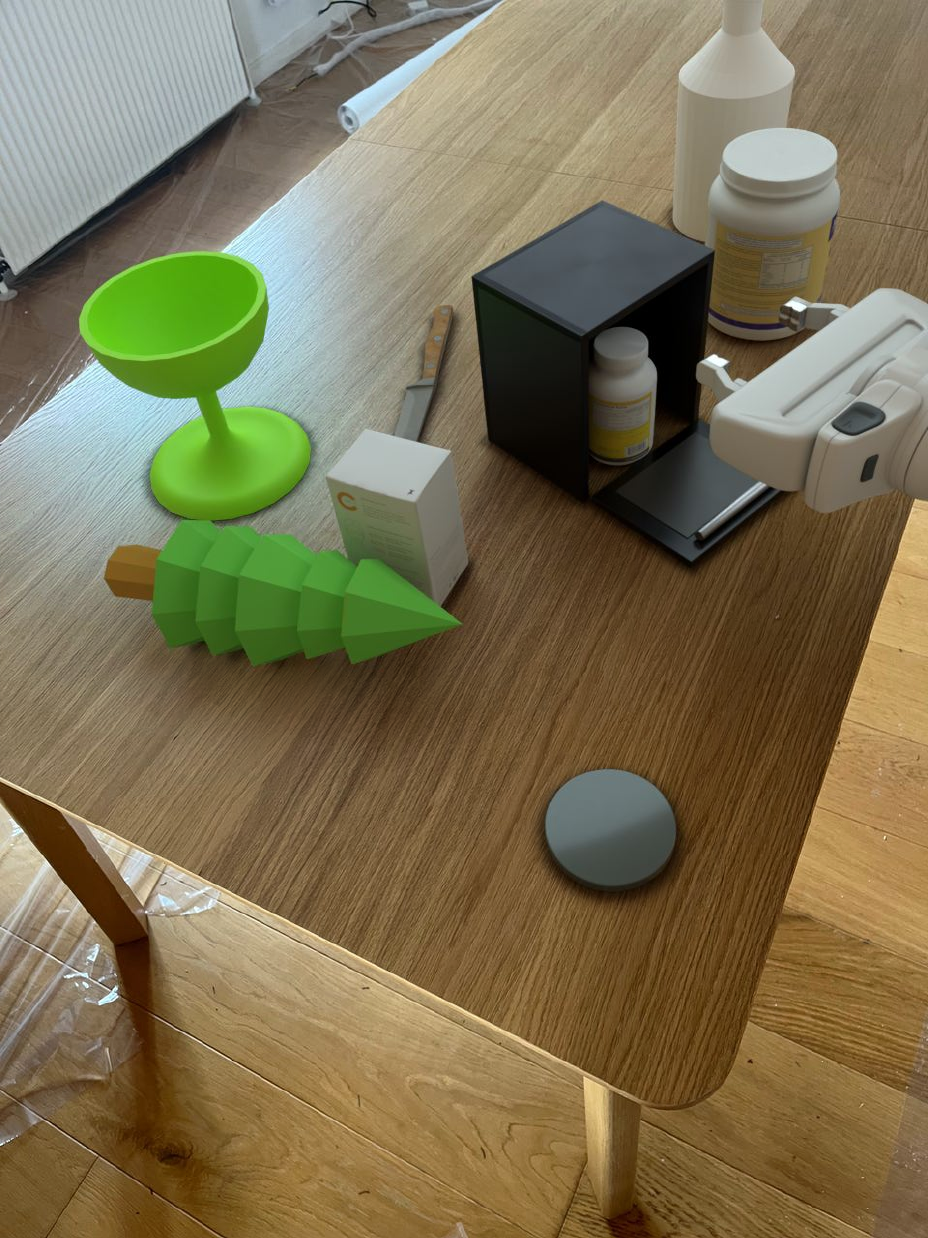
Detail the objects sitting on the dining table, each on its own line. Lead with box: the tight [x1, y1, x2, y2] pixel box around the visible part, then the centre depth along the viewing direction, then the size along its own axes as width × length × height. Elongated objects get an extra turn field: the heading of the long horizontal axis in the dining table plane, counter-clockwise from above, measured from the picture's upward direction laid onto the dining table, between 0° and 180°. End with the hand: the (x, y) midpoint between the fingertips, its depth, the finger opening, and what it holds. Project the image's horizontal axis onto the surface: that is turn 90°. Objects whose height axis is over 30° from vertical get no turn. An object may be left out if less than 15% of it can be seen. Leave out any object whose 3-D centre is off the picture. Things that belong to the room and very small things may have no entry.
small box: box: [325, 428, 469, 608], centre depth 83 cm, size 8×6×13 cm
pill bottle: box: [589, 327, 657, 466], centre depth 92 cm, size 6×6×12 cm
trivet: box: [544, 768, 677, 893], centre depth 71 cm, size 9×9×1 cm
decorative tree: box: [103, 519, 463, 667], centre depth 81 cm, size 11×12×30 cm
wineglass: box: [78, 250, 312, 522], centre depth 93 cm, size 16×16×18 cm
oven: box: [471, 199, 787, 569], centre depth 88 cm, size 25×16×18 cm, turn 41°
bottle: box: [672, 0, 796, 243], centre depth 110 cm, size 12×12×25 cm
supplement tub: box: [704, 127, 841, 341], centre depth 101 cm, size 12×12×17 cm
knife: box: [393, 304, 454, 442], centre depth 103 cm, size 31×1×3 cm
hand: (744, 336), depth 77 cm, fingers open, 8 cm apart
